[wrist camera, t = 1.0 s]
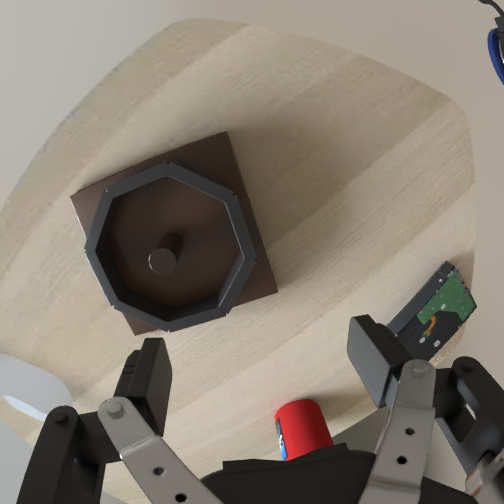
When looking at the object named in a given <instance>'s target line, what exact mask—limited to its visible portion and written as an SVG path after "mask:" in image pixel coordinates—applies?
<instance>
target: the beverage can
mask: <svg viewBox="0 0 504 504" xmlns="http://www.w3.org/2000/svg"><path fill="white" fill-rule="evenodd" d="M275 423H276V428H277V433H278V438H279V443H280V448H281V452H282V457H283V461H288V460H291V459H294V458H296V457H299V456H301V455H304V454H306V453H309V452H311V451H313V450H316V449H319V448H324V447H328V446H333V445H334V444H333V441H332V439H331V436H330V433H329V430H328V427H327V425H326V422H325V420H324V417H323V414H322V412H321V409H320V407H319V405H318V404H317V403H316V402H314V401H311V400H296V401H292V402H290V403H287V404H285V405H284V406H282V407H281V408H280V409H279V410H278V411H277V413H276V415H275Z"/></svg>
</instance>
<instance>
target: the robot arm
mask: <svg viewBox="0 0 504 504" xmlns="http://www.w3.org/2000/svg"><path fill="white" fill-rule="evenodd" d="M479 1H480V2H482V3H484V4H490V5H492V6H493V7H494V8H495V9H496V10H497V11H498V13H499V14H500V15H501V16H500V17H496V18H495V21H496V24H497V26H498V29H499V31H500V33H496V37H497V49H498V54H499V57H500V61H501V63H502V66H503V68H504V12H503V11H502V9H501V8H500V7H499V6H498V5H497V4H496V3H495V2H493V1H492V0H479ZM347 352H348V357H349V359H350V361H351V362H352V364H353V366H354V368H355V369H356V371H357V373H358V375H359V376H360V378H361V380H362V382H363V383H364V385H365V387H366V389H367V390H368V392H369V394H370V396H371V398H372V399H373V401H374V403H375V405H376V407H377V408H378V409H379V408H382V407H385V406H388V408H389V412H388V415H387V418H386V421H385V424H384V427H383V430H382V433H381V436H380V439H379V442H378V444H377V447H376V450H375V452H374V453H371V452H367V451H361V450H348V447H347V445H346V443H341V444H337V445H333V446H328V447H324V448H319V449H316V450H313V451H311V452H309V453H306V454H304V455H301V456H299V457H296V458H294V459H291V460H288V461H275V460H261V459H247V460H235V461H223V469H222V470H219V471H216V472H213V473H211V474H209V475H207V476H204V477H203V478H201V479H200V480H199V479H198V478H197V477H196V476H195V475H194V474H193V473H192V472H191V471H190V470H189V469H188V468H187V466H186V465H185V464H184V463H183V462H182V461H181V460H180V459H179V458H178V456H177V455H176V454H175V453H174V452H173V451H172V449H171V448H170V447H169V446H168V445H167V444H166V442H165V441H164V440H163V439H162V438H161V437H163V434H164V427H165V420H166V414H167V407H168V401H169V395H170V389H171V383H172V367H171V363H170V360H169V356H168V352H167V349H166V345H165V341H164V339H163V338H145V340H144V343H143V345H142V348H141V350H134V351H133V352H132V353H131V354H130V355H129V356H128V358H127V360H126V363H125V365H124V366H125V367H124V368H123V371H122V374H121V376H120V379H119V381H118V384H117V387H116V390H115V393H114V395H113V397H112V398H109V399H107V400H105V401H104V402H103V403H102V404H101V405H100V406H99V408H98V411H96V412H91V413H85V414H79V415H78V413H77V411H76V410H75V409H74V408H73V407H70V406H59V407H56V408H54V409H53V410H52V411H51V412H50V413H49V414H48V415H47V418H46V420H45V422H44V425H43V427H42V430H41V432H40V435H39V437H38V440H37V442H36V445H35V448H34V450H33V453H32V456H31V459H30V462H29V464H28V467H27V470H26V473H25V476H24V480H23V482H22V486H21V489H20V492H19V496H18V499H17V503H16V504H100V498H101V491H102V485H103V479H104V473H105V467H106V463H113V462H118V461H123V462H124V464H125V465H126V467H127V468H128V470H129V472H130V473H131V475H132V476H133V478H134V479H135V480H136V482H137V483H138V485H139V486H140V488H141V489H142V490H143V492H144V493H145V495H146V496H147V497H148V499H149V500H150V501H151V503H152V504H504V390H503V389H502V388H501V387H500V385H499V384H498V383H497V382H496V381H495V380H494V378H493V377H492V376H491V375H490V374H489V373H488V372H487V370H486V369H485V368H484V367H483V366H482V365H481V364H480V363H479V362H478V361H477V360H476V359H474V358H471V357H466V356H465V357H464V356H463V357H459V358H457V359H456V360H455V361H454V362H453V365H452V367H451V368H444V369H435V368H434V366H433V365H432V364H431V363H429V362H427V361H425V360H420V359H414V357H413V356H412V355H411V354H410V353H409V351H408V350H407V349H406V348H405V347H404V345H403V344H402V343H401V342H399V339H398V338H397V337H396V336H395V335H394V334H393V332H392V331H391V330H390V329H389V328H388V327H386V326H384V325H382V324H381V323H377V324H376V323H375V322H374V320H373V319H372V318H371V317H370V316H369V315H368V314H366V315H361V316H355V317H351V319H350V325H349V334H348V342H347ZM467 403H468V405H469V406H470V407H471V409H472V410H473V411H474V413H475V417H476V420H475V419H474V418H473V416H472V415H471V413H470V412H469V411H468V409H467V408H466V404H467ZM434 419H436V421H437V423H438V425H439V426H440V428H441V430H442V431H443V433H444V435H445V437H446V438H447V440H448V442H449V444H450V445H451V447H452V449H453V451H454V452H455V454H456V456H457V457H458V459H459V461H460V463H461V465H462V467H463V469H464V470H465V472H466V474H467V478H466V481H465V487H466V490H465V492H462V491H459V490H456V489H454V488H451V487H449V486H446V485H444V484H441V483H439V482H436V481H434V480H431V479H429V478H426V477H424V476H423V473H424V469H425V464H426V460H427V456H428V451H429V446H430V441H431V436H432V430H433V424H434Z"/></svg>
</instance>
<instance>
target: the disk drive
mask: <svg viewBox="0 0 504 504" xmlns="http://www.w3.org/2000/svg"><path fill="white" fill-rule="evenodd" d="M463 281H464V280H463V279H462V277H461V275H460V273H459V270H458V269H456V268H455V266H454V265H453V264H451V263H449V262H448V261H445V263H444V264H442V265H441V267H440V268H439V269H438V270H437V271H436V272H435V274H434V275H433V276H432V277H431V278H430V279H429V281H428V282H427V283H426V284H425V285H424V286H423V287H422V288H421V290H420V291H419V292H418V293H417V294H416V295H415V296H414V298H412V300H411V301H410V302H409V303H408V304H407V305H406V306H405V307H404V308H403V309H402V310H401V311H400V312H399V313H398V314H397V315H396V316H395V317H394V318H393V319H392V321H390V323H389V324H388V325H386V327H388V328H389V329H390V330H391V331H392V332H393V334H394V335H395V336H396V337H397V338H398V339H399V342H401V343H402V344H403V345H404V347H405V348H406V349H407V350H408V351H409V353H410V354H411V355H412V356H413V357H414V359H420V360H425V361H427V362H428V361H429V360H430V359H431V358H432V357H433V356H434V355H435V354H436V353H437V352H438V351H439V350H440V349H441V348H442V347H443V346H444V345H445V343H446V342H447V341H448V340H449V339H450V338H451V337H452V336H453V335H454V334H455V333H456V332H457V331H458V329H459V328H460V327H461V326H462V325H463V324H464V323H465V321H466V320H467V319H468V318H469V316H470V314H471V313H473V312H474V310H475V309H476V308H477V305H476V303H475V301H474V299H473V297H472V295H471V293H470V290H469V289H468V288H467V287H466V284H465V282H463Z"/></svg>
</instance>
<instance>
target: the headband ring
mask: <svg viewBox="0 0 504 504" xmlns="http://www.w3.org/2000/svg"><path fill="white" fill-rule="evenodd" d="M166 176H169V177H171V178H174V179H176V180H178V181H180V182H182V183H184V184H187V185H189V186H191V187H193V188H195V189H197V190H199V191H202V192H204V193H206V194H208V195H210V196H212V197H214V198H216V199H218V200H221V201H223V202H225V205H226V208H227V211H228V214H229V217H230V220H231V223H232V226H233V228H234V231H235V234H236V237H237V240H238V243H239V246H240V249H241V252H240V254H239V255H238V257H237V259H236V261H235V263H234V265H233V267H232V269H231V271H230V273H229V275H228V276H227V278H226V280H225V282H224V284H223V286H222V288H221V290H220V292H219V293H218V294H215V295H211V296H208V297H205V298H202V299H199V300H196V301H192V302H189V303H186V304H183V305H180V306H176V307H173V308H171V307H169V306H167V305H164V304H162V303H160V302H158V301H155V300H153V299H151V298H149V297H146V296H144V295H142V294H140V293H137V292H135V291H133V290H131V289H129V288H127V287H126V285H125V283H124V281H123V279H122V276H121V274H120V272H119V270H118V268H117V266H116V264H115V261H114V259H113V257H112V255H111V253H110V250H109V248H108V246H107V243H106V240H107V237H108V234H109V231H110V228H111V225H112V223H113V220H114V217H115V214H116V212H117V209H118V206H119V203H120V201H121V198H122V196H123V194H125V193H127V192H129V191H132V190H134V189H136V188H139V187H141V186H143V185H146V184H148V183H151V182H153V181H156V180H158V179H161V178H163V177H166ZM84 249H85V250H86V251H85V254H86V257H87V259H88V261H89V263H90V265H91V267H92V270H93V272H94V274H95V276H96V278H97V280H98V282H99V284H100V286H101V288H102V290H103V292H104V294H105V296H106V298H107V300H108V302H109V303H110V305H111V306H113V305H114V306H113V308H114V309H116V310H118V311H120V312H122V313H125V314H127V315H129V316H131V317H133V318H136V319H138V320H140V321H142V322H145V323H147V324H149V325H151V326H154V327H156V328H159V329H161V330H163V331H166V332H168V330H169V331H170V332H174V331H177V330H181V329H184V328H188V327H191V326H194V325H198V324H201V323H205V322H208V321H211V320H215V319H218V318H221V317H224V316H226V313H227V314H229V312H230V311H231V309H232V307H233V305H234V303H235V301H236V300H237V298H238V296H239V294H240V292H241V291H242V289H243V287H244V285H245V283H246V281H247V280H248V278H249V276H250V274H251V272H252V271H253V269H254V267H255V265H256V263H257V258H258V256H257V253H256V250H255V247H254V244H253V241H252V238H251V235H250V232H249V229H248V226H247V223H246V220H245V217H244V214H243V211H242V208H241V205H240V202H239V199H238V196H237V193H236V191H235V190H234V189H233V187H231V186H229V185H227V184H225V183H223V182H221V181H219V180H216V179H214V178H212V177H210V176H208V175H206V174H204V173H202V172H200V171H197V170H195V169H193V168H191V167H189V166H187V165H185V164H182V163H180V162H178V161H166V162H163V163H161V164H158V165H156V166H153V167H151V168H148V169H146V170H143V171H141V172H139V173H136V174H134V175H132V176H129V177H127V178H125V179H123V180H120V181H118V182H116V183H114V184H111V185H109V186H107V187H106V189H104V190H103V192H102V194H101V197H100V200H99V203H98V206H97V209H96V212H95V215H94V218H93V221H92V224H91V227H90V230H89V234H88V237H87V240H86V244H85V247H84Z"/></svg>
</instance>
